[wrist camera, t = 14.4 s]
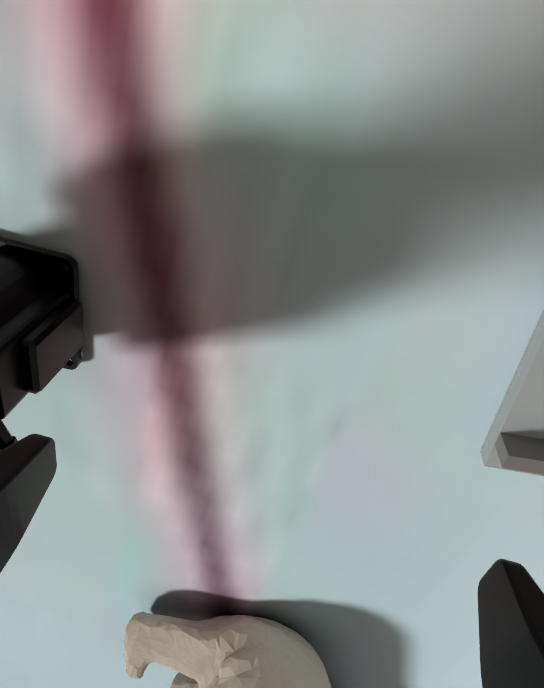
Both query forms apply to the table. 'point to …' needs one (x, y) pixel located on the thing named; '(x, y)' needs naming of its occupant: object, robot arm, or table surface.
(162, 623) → the animal model
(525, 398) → the door track
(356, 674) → the table surface
